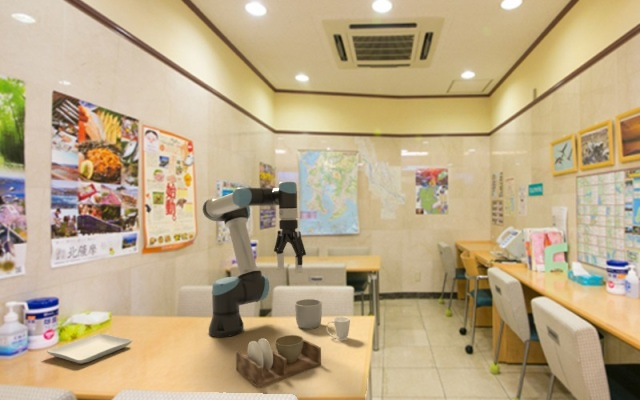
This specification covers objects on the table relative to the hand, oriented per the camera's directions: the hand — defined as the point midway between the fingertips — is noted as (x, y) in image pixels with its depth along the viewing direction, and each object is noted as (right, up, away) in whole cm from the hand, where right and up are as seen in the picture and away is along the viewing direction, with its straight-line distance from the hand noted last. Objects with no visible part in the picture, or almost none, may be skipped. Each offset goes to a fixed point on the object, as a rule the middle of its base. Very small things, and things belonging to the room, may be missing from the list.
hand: (289, 271), depth 145 cm
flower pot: (+2, -27, -21) cm, 34 cm away
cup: (+20, -29, +2) cm, 35 cm away
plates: (-7, -27, -28) cm, 40 cm away
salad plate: (-77, -31, -7) cm, 83 cm away
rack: (-1, -28, -24) cm, 37 cm away
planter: (+7, -29, +18) cm, 35 cm away
